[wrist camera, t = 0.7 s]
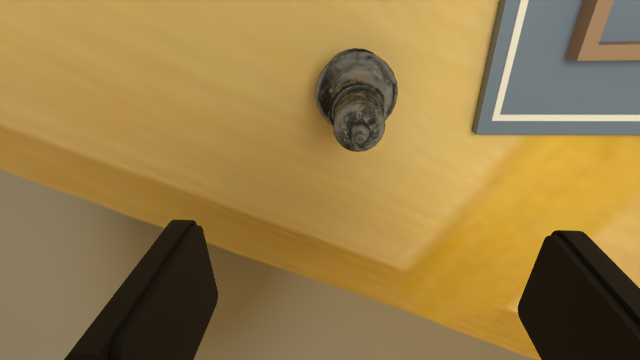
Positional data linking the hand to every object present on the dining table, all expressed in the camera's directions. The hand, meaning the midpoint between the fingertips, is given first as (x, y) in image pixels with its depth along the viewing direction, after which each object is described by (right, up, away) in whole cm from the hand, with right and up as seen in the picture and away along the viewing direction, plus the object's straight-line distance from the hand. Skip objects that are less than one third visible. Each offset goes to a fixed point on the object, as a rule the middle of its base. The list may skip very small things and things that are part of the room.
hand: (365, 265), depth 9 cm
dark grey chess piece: (+2, +10, +18) cm, 21 cm away
